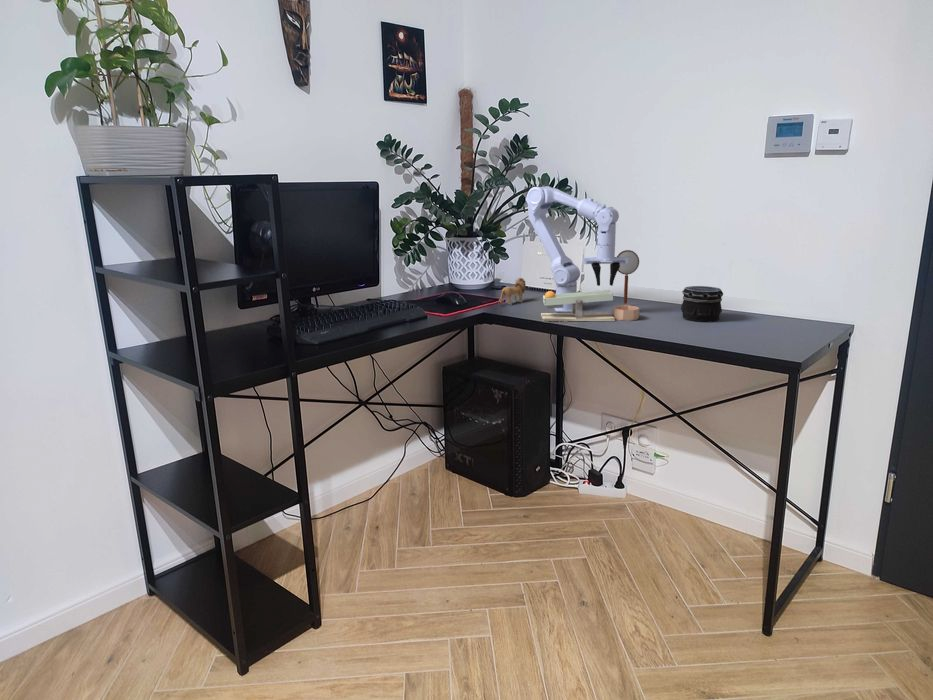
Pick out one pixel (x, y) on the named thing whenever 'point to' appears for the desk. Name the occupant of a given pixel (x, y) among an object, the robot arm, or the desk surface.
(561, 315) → the stand
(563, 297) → the trough
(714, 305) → the container
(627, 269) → the magnifying glass
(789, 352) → the desk surface
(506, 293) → the lion figurine
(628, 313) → the octagonal wooden bowl
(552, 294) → the ball
